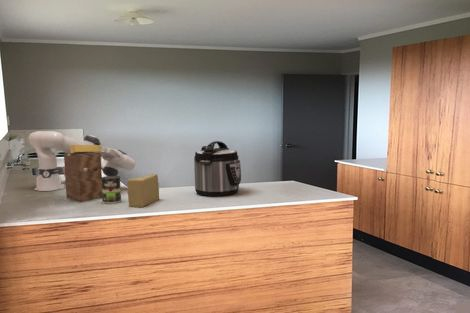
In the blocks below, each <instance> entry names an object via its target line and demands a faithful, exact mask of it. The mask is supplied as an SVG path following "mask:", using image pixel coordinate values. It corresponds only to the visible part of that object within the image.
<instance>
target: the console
mask: <svg viewBox="0 0 470 313" xmlns="http://www.w3.org/2000/svg"><path fill="white" fill-rule="evenodd" d="M63 162H64V164H63V165H64V166H65V176H64V178H65V179H64V180H65V194H66V199H68V198H69V200H71V201H76V202H78V201H79V203H83V202H89V201H94V200H95V201H96V200H99V199H100V200H101V199H102V179H101V178H102V177H103V176H102V175H103V171H102V169H101V154H100V153H94V152H85V153H66V152H64V154H63Z"/></svg>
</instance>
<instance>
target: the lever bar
mask: <svg viewBox="0 0 470 313" xmlns="http://www.w3.org/2000/svg"><path fill="white" fill-rule="evenodd" d="M98 146H102V147H103V145H102V144H100V145H73V146H70V152H71V153H85V152H94V153H99V152H101V151H103V150H101V149H99V148H98Z"/></svg>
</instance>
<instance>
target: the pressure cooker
mask: <svg viewBox="0 0 470 313" xmlns="http://www.w3.org/2000/svg"><path fill="white" fill-rule="evenodd" d="M216 144H217V145H218V147H215V146H216ZM200 149H201V150H199V151H195V152H194V153H195V154H194V159H193V165H194V169H193V170H194V188H195V192H196V194H198V195H199V196H205V197H206V196H207V197H221V196H222V197H223V196H231V195H234V194H237V193H238V192H239V188H240V184H241V183H242V169H241V160H240V159H239V155H238V151H237V150H233V149H230V148H229V147H228V145H226V144H225V143H224V142H222V141H219V140H215V141H212V142H210V143H209V144H208V145H207V146H206V145H203V146H201V148H200Z"/></svg>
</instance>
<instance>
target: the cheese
mask: <svg viewBox="0 0 470 313" xmlns="http://www.w3.org/2000/svg"><path fill="white" fill-rule="evenodd" d="M158 177H159V176H158V174H157V173H152V174H149V175H145V176H140V177H136V178H130V179H127V197H128V198H127V199H128V206H129V207H134V208H136V207H137V208H143V207H146V206H148V205H149V204H152V203H154V202H156V201H158V200H160V187H159V186H160V185H159V178H158Z"/></svg>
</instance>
